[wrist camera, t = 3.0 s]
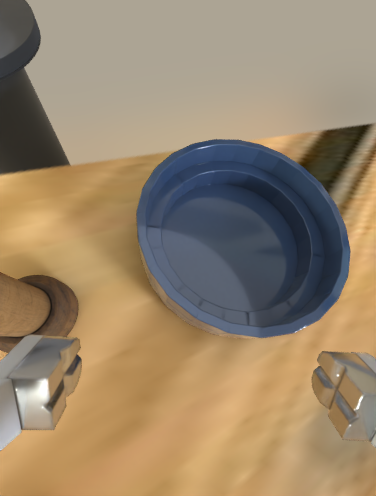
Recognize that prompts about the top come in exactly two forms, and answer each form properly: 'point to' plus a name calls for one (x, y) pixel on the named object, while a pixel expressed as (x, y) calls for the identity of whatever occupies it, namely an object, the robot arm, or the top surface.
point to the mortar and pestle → (34, 308)
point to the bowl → (241, 240)
